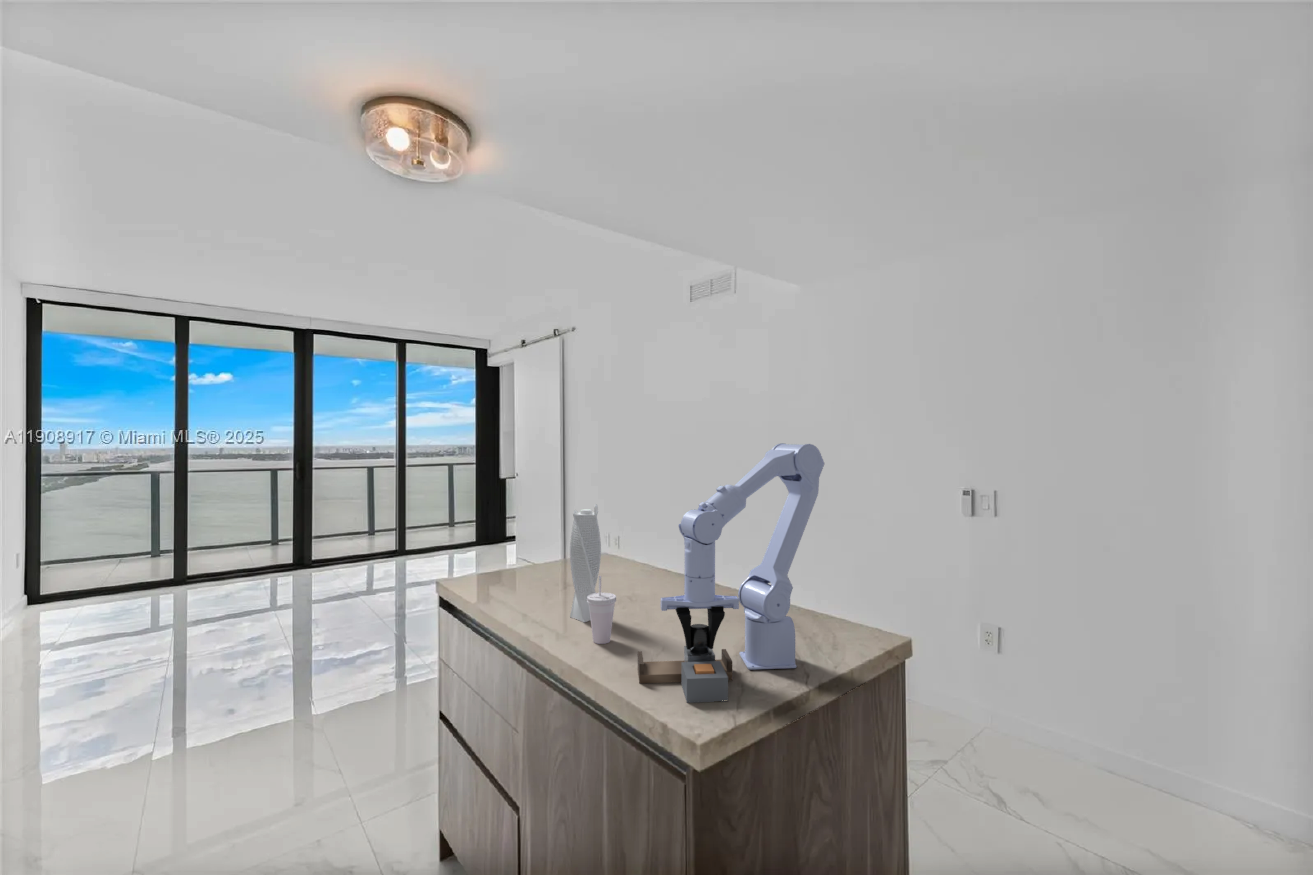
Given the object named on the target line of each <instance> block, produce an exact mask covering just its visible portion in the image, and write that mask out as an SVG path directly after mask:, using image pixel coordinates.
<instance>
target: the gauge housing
mask: <svg viewBox="0 0 1313 875" xmlns="http://www.w3.org/2000/svg"><path fill="white" fill-rule="evenodd" d="M694 664H711V665H712V667H713V669H714V674H695V672H694ZM680 683H681V688H682V691H683V694H684V698H685V701H686V703H687V704H688V703H712V702H713V703H715V702H714V701H721V702H725V701H724V700H728V701H729V681H728V676H727V674H726V672H725V670H724V668H723V666H722V664H721V662H720V661H707V662H682V663H681V682H680ZM722 700H723V701H722Z"/></svg>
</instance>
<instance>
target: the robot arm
mask: <svg viewBox="0 0 1313 875" xmlns="http://www.w3.org/2000/svg"><path fill="white" fill-rule="evenodd" d="M824 466H825V462H824V459H823V456H822V453H821V451H820V450H819V448H818V447H817V446H816V445H814V444H811V443H804V444H797V443H796V444H795V443H794V444H793V443H791V444H790V443H788V444H787V443H777V444H776V445H774V446H773V447H772V448H771V449H769V450H767V451H766V452H765V454H764V457H763V458H762V459H760V461H758V463H756V464H755V465H754V466H753V467H752V468H751V469H750V470H749V471H748V472H747V473H746V474H744V476H742V478H741V479H739V481H737V482H736V483H735V484H734V485H733V484H725V485H720V486H718V487H717V488H715V490H716V492H715V493H714V494H713V495H711V496H710V497H709V498H708V499H707V500H705V501H701V502H700V503H699V504H698V508H697V509H690V510H688V511H687V512H685V513H684V514H683V516H682V519H681V521H680V523H678V529H679V533H680V534H681V535H682V537H683V539H684V540H683V544H684V587H683V588H684V595H683V594H682V595H675V596H668V597H667V596H666V597H660V610H661V612H663V611H664V612H667V611H668V610H675V613H676V615H677V618H678V619H679V621H680V625H681V627H682V631H683V635H684V640H685V646H686V647H687V649H688V650H691V625H692V615H691V610H704V609H705V610H707V626H709V649H712V650H713V649H714V645H715V641H716V640H715V639H716V637H717V633H718V631H719V629H720V626H721V623H722V622H723V620H724V619H725V617H726V616H725V615H726V612H725V609H733V610H739V609H740V605H741V606H742V607H743V613H744V637H745V638H744V651H739V654H738V655H739V656H740V658H741V660H742V661H743V663H744V664H745V666H746V668H747V669H748V670H774V669H775V670H776V669H779V670H780V669H796V668H797V664H796V630H795V629H796V628H795V624H794V621H793V620H794V619H793V618H792V617H791V616H789V615H788V613H789V610H790V607H791V595H792V592H793V588H794V587H793V584H792V582H791V580H790V577H789V575H788V574H789V572H790V569H791V567H792V564H793V561H794V558H795V555H796V553H797V551H798V548H799V547H800V546H799V545H800V542H801V540H802V537H803V534H804V532H805V530H806V526H807V524H808V522H809V519H810V516H811V514H812V511H813V509H814V506H815V504H816V501H817V499H818V498H817V497H818V496H819V486H820V477H821V474H822V471H823V469H824ZM776 477H778V478H779V479H780V480H781V482H782V483H783V484H784V485H785V487H786V490H787V491H788V492H787V493H788V495H787V497H786V500H785V502H784V503H783V504H784V505H783V507H782V509H781V512H780V514H779V517H778V519H777V522H776V525H775V527H774V530H773V533H772V534H771V537H770V539H769V543H768V545H767V548H766V551H765V553H764V555H763V557H762V561H761V563H760V564H758V565H757V566H755V567H753V568H752V569H751V570H750V571H749V574H748V576H747V578H746V579H745V580H744V581H743V582H742V583H741V584H740V586H739V589H738V592H737V595H723V594H722V595H721V594H716V541H718V540H719V539H720V537H721V536H722V531H723V528H724V527H725V526H726V525H727V524H728V523H729V522H730V521H732V520H733V519H734V518H735V517H736V516H737V515H739V514H740V513H741V512H742V511H743V510H744V509H745V508H746V506H747V499H748V498H749V497H750V496H752V495H753V494H755V492H757V491H758V490H760V489H761V488H762V487H764V486H765V485H766V484H768V483H769V482H771V481H772V480H773V479H774V478H776Z"/></svg>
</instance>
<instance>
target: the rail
mask: <svg viewBox="0 0 1313 875" xmlns="http://www.w3.org/2000/svg"><path fill="white" fill-rule="evenodd" d="M715 661H720V662H721V664H722V666H723V668H724V670H725V672H726V674H727V676H728V682H729V681H733V660H732V658H731V656H730V654H729V652H728V651H727V649H726V648H722V649H721V659H715ZM682 662H685V661H684V660H661V661H659V660H658V661H656V660H655V661H644V657H643V651H641V650H640V651H637V675H638V683H639V684H661V683H662V684H663V683H664V684H666V683H681V663H682Z"/></svg>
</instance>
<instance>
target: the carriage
mask: <svg viewBox="0 0 1313 875" xmlns="http://www.w3.org/2000/svg"><path fill="white" fill-rule="evenodd" d="M683 649H684V654H683V655H684V656H683V657H684V658H683V659H684V660H683V661H685V662H707V661H715V660H716V654H715V652H714V650H713V649H709V626H708V624H703V623H694V624H691V650H688V649H687V647H686V645H684V647H683Z"/></svg>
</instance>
